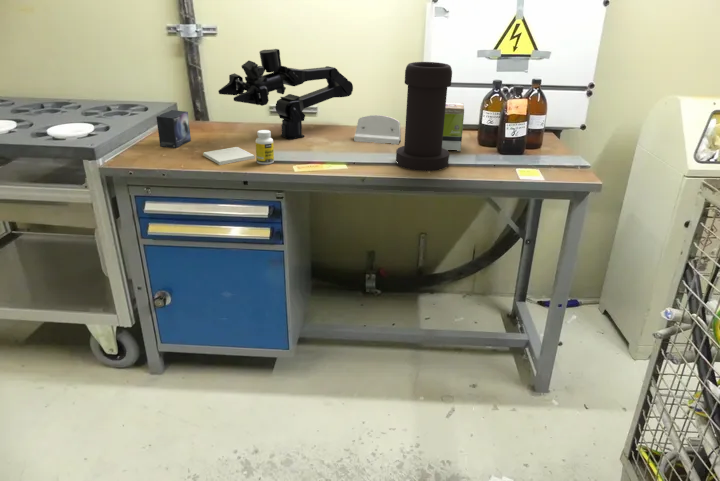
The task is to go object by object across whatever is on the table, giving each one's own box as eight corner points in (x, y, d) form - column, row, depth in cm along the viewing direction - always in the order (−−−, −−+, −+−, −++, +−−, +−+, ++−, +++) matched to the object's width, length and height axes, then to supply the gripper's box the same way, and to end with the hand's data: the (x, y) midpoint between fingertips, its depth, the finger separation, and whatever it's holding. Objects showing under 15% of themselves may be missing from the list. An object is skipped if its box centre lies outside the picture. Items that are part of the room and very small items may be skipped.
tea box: (460, 144, 190) (464, 102, 184) (460, 152, 181) (465, 108, 175) (417, 142, 192) (420, 100, 185) (416, 149, 183) (419, 106, 177)
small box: (177, 149, 178) (173, 117, 173) (159, 147, 179) (154, 116, 174) (192, 140, 187) (188, 110, 182) (175, 139, 188) (171, 109, 184)
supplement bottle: (266, 166, 163) (264, 134, 159) (253, 162, 166) (250, 131, 161) (277, 161, 167) (276, 130, 163) (264, 158, 170) (262, 128, 166)
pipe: (448, 157, 175) (457, 62, 162) (447, 173, 161) (457, 69, 148) (398, 153, 178) (403, 59, 165) (393, 169, 163) (398, 67, 150)
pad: (237, 149, 178) (237, 146, 178) (254, 158, 170) (254, 155, 169) (203, 155, 171) (203, 152, 171) (219, 164, 163) (219, 161, 163)
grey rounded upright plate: (353, 141, 191) (355, 112, 190) (355, 142, 196) (357, 114, 194) (399, 144, 188) (402, 115, 187) (400, 145, 193) (403, 117, 192)
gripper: (247, 53, 181) (206, 64, 172) (280, 65, 170) (238, 77, 161) (252, 86, 187) (213, 97, 179) (283, 99, 176) (243, 112, 167)
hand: (226, 95), depth 171 cm, fingers open, 9 cm apart
